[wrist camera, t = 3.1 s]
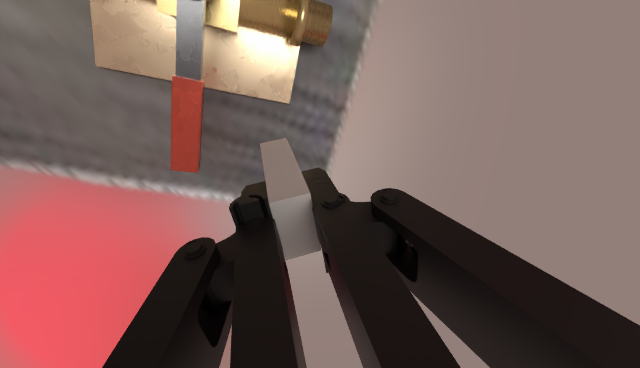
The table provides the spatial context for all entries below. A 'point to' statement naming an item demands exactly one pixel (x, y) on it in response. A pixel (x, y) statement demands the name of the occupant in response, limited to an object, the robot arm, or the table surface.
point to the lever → (188, 86)
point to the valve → (213, 41)
